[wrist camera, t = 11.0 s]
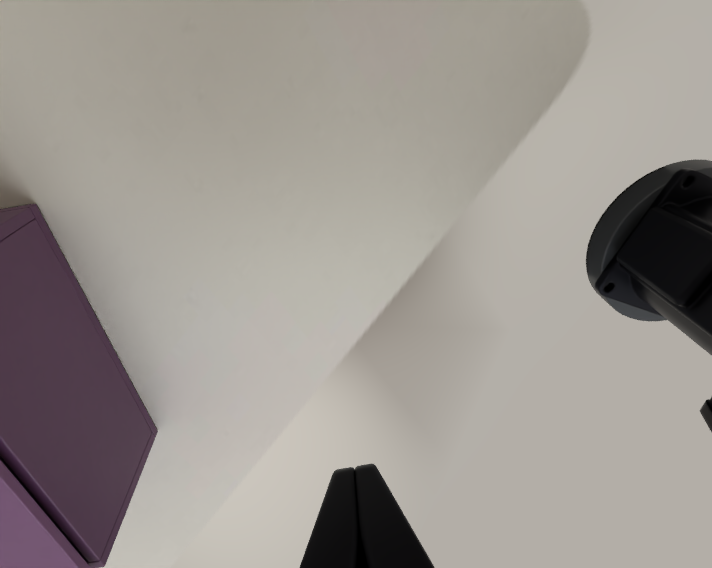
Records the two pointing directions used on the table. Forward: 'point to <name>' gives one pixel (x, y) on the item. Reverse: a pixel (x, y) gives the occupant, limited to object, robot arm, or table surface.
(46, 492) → the box
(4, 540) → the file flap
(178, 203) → the table surface
